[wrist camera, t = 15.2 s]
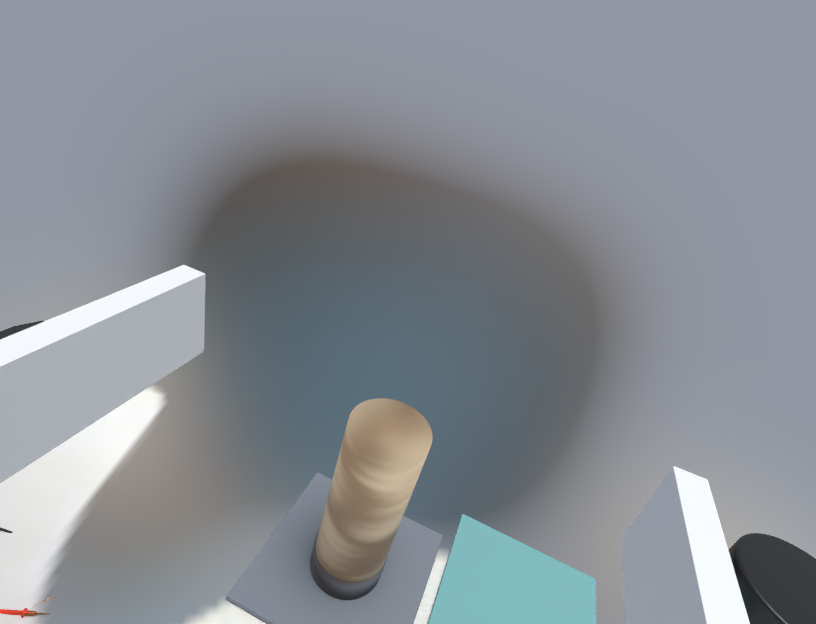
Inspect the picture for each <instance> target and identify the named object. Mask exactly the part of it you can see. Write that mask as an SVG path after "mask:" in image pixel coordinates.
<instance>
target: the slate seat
mask: <svg viewBox="0 0 816 624" xmlns="http://www.w3.org/2000/svg"><path fill="white" fill-rule="evenodd" d="M331 484H332V480H331V479H329V478H327V477H325V476H323V475H321V474H319V473H317V474H316V476H315V477H314V478H313V479H312V481H311V482H310V484H309V485H308V486H307V488H306V489H305V491H304V492H303V493H302V494H301V496H300V497H299V499H298V500H297V501H296V503H295V504H294V505H293V507H292V508H291V509H290V511H289V512H288V513H287V515H286V516H285V518H284V519H283V520H282V522H281V523H280V524H279V526H278V527H277V529H276V530H275V531H274V532H273V534H272V535H271V537H270V538H269V539H268V541H267V542H266V543H265V545H264V546H263V547H262V549H261V550H260V552H259V553H258V554H257V556H256V557H255V559H254V560H253V561H252V563H251V564H250V565H249V566H248V568H247V569H246V571H245V572H244V573H243V575H242V576H241V577H240V579H239V580H238V581H237V583H236V584H235V586H234V587H233V588H232V590H231V591H230V592H229V594H228V595H227V598H226V600H228V601H230V602H231V603H233V604H235V605H237V606H238V607H240V608H242V609H243V610H245V611H247V612H248V613H250V614H252V615H254V616H255V617H257V618H259V619H260V620H262V621H264V622H266V623H267V624H413V622H414V619H415V617H416V614H417V611H418V608H419V605H420V602H421V599H422V596H423V593H424V590H425V587H426V584H427V581H428V578H429V575H430V573H431V570H432V567H433V564H434V561H435V558H436V555H437V552H438V549H439V546H440V543H441V540H442V537H443V535H441V534H438V533H437V532H435V531H433V530H431V529H429V528H427V527H425V526H423V525H421V524H418V523H417V522H415V521H413V520H411V519H409V518H407V517H405V516H403V517H402V520H401V522H400V525H399V527H398V530H397V532H396V535H395V537H394V540H393V542H392V545H391V547H390V550H389V552H388V556H387V561H386V563H385V566H384V569H383V571H382V574H381V576H380V579H379V581H378V583H377V585H376V586H375V587H374V589H373V590H372V591H371V592H369V593H368V594H367V595H365V596H363V597H361V598H359V599H355V600H340V599H336V598H333V597H331V596H329V595H328V594H326V593H325V592H323V591H322V590H321V589H320V588H319V587H318V585H317V584H316V582H315V581H314V579H313V577H312V573H311V569H310V558H311V553H312V550H313V546H314V542H315V538H316V535H317V533H318V531H319V529H320V525H321V521H322V517H323V514H324V510H325V506H326V502H327V499H328V495H329V491H330V487H331Z"/></svg>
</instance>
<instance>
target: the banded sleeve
mask: <svg viewBox="0 0 816 624" xmlns="http://www.w3.org/2000/svg"><path fill="white" fill-rule="evenodd" d="M431 444H432V431H431V428H430V426H429V424H428V422H427V421H426V419H425V418H424V417H423V416H422V415H421V414H420V413H419V412H418V411H417V410H415V409H414V408H412V407H410V406H408V405H407V404H405V403H402V402H399V401H396V400H391V399H383V398H380V399H371V400H367V401H365V402H362V403H361V404H359V405H358V406H356V407H355V408H354V409H353V411H352V412H351V414H350V416H349V420H348V424H347V427H346V431H345V435H344V439H343V442H342V446H341V450H340V454H339V457H338V461H337V465H336V469H335V472H334V476H333V480H332V484H331V487H330V491H329V495H328V499H327V502H326V506H325V510H324V514H323V517H322V521H321V525H320V529H319V531H318V533H317V535H316V538H315V542H314V546H313V550H312V553H311V558H310V569H311V573H312V577H313V579H314V581H315V582H316V584H317V585H318V587H319V588H320V589H321V590H322V591H323V592H325V593H326V594H328V595H329V596H331V597H333V598H336V599H340V600H355V599H359V598H361V597H363V596H365V595H367V594H368V593H369V592H371V591H372V590H373V589H374V587H375V586H376V585H377V583H378V581H379V579H380V576H381V574H382V571H383V569H384V566H385V563H386V561H387V556H388V552H389V550H390V547H391V545H392V542H393V540H394V537H395V535H396V532H397V530H398V527H399V525H400V522H401V520H402V517H403V514H404V512H405V509H406V507H407V504H408V502H409V499H410V497H411V494H412V492H413V489H414V487H415V484H416V482H417V479H418V477H419V474H420V472H421V469H422V467H423V464H424V462H425V459H426V457H427V454H428V452H429V449H430V447H431Z"/></svg>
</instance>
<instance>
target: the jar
mask: <svg viewBox="0 0 816 624" xmlns="http://www.w3.org/2000/svg"><path fill="white" fill-rule="evenodd" d="M728 551H729V554H730V558H731V561H732V564H733V568H734V571H735V574H736V578H737V581H738V585H739V588H740V591H741V595H742V598H743V602H744V605H745V608H746V612H747V615H748V618H749V622H750V624H816V559H815V558H814V557H812V556H811V555H809V554H808V553H806V552H805V551H803V550H801V549H799V548H798V547H796V546H794V545H792V544H790V543H788V542H786V541H784V540H782V539H779V538H776V537H774V536H770V535H766V534H759V533H753V534H752V533H751V534H747V535H744V536H742V537H741V538H739V540H738V541H737V542H736V543H735V544H734V545H733V546H732V547H731V548H730V549H729V550H728Z"/></svg>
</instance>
